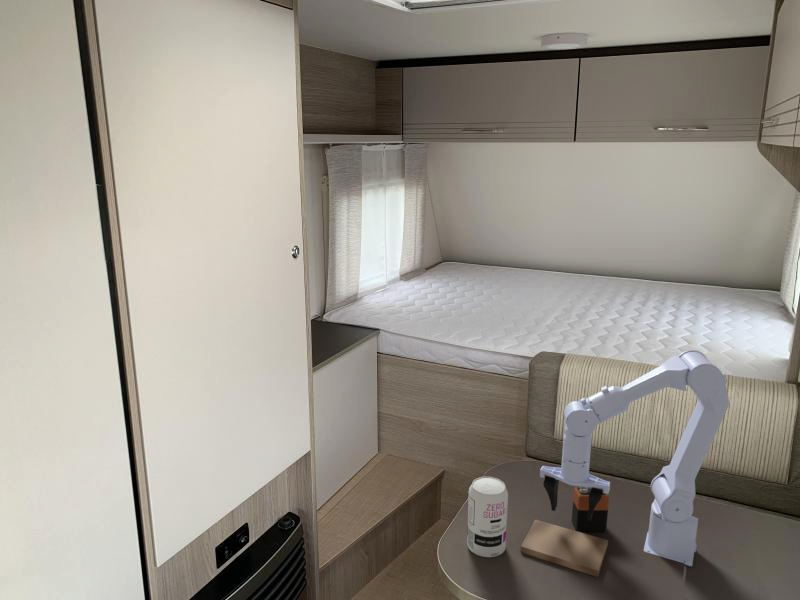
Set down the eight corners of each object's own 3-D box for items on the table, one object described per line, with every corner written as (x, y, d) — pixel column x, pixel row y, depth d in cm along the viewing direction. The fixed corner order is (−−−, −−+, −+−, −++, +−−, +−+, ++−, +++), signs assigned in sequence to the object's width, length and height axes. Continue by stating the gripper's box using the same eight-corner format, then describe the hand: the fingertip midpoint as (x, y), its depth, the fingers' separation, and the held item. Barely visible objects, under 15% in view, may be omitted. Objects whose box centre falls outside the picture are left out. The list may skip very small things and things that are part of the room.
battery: (606, 532, 132) (610, 492, 130) (576, 533, 132) (579, 493, 130) (599, 521, 137) (603, 482, 134) (570, 521, 137) (573, 482, 134)
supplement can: (482, 531, 133) (484, 471, 129) (513, 548, 127) (516, 485, 124) (459, 547, 127) (461, 484, 124) (490, 565, 122) (492, 500, 118)
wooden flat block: (607, 546, 128) (608, 540, 127) (598, 577, 118) (598, 570, 118) (534, 525, 135) (535, 519, 135) (520, 552, 126) (520, 546, 125)
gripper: (614, 456, 127) (609, 512, 130) (547, 441, 133) (543, 495, 136) (608, 471, 121) (603, 530, 124) (538, 455, 127) (535, 511, 130)
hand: (571, 513), depth 130 cm, fingers open, 7 cm apart
